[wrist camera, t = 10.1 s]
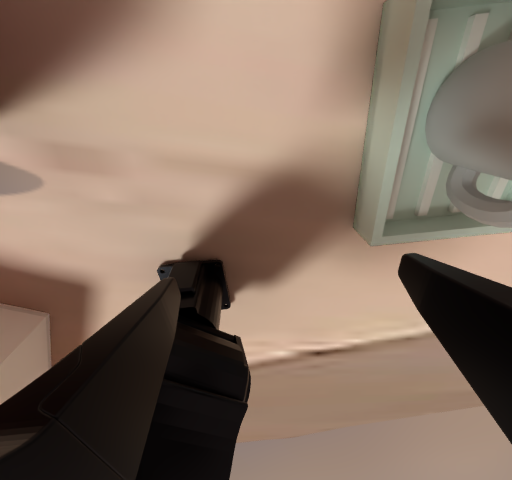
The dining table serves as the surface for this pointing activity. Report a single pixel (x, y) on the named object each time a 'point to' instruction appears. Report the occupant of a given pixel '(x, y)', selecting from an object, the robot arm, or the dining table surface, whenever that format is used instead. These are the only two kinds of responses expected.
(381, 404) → the dining table surface
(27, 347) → the butter dish
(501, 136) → the cup
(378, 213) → the drying rack
